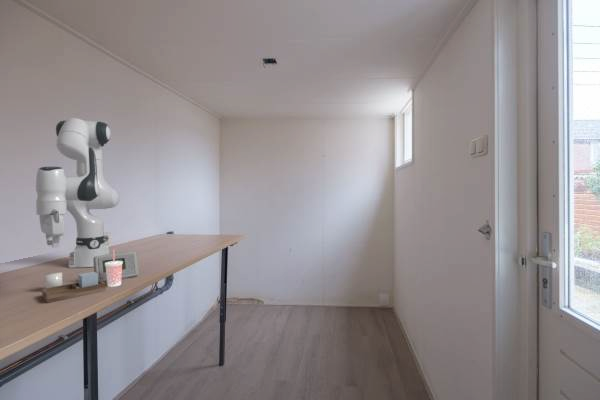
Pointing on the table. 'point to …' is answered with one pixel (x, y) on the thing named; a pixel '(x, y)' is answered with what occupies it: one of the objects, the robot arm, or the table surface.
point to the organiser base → (70, 291)
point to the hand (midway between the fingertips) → (52, 246)
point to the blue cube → (87, 279)
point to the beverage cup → (114, 272)
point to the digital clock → (127, 257)
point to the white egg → (53, 279)
